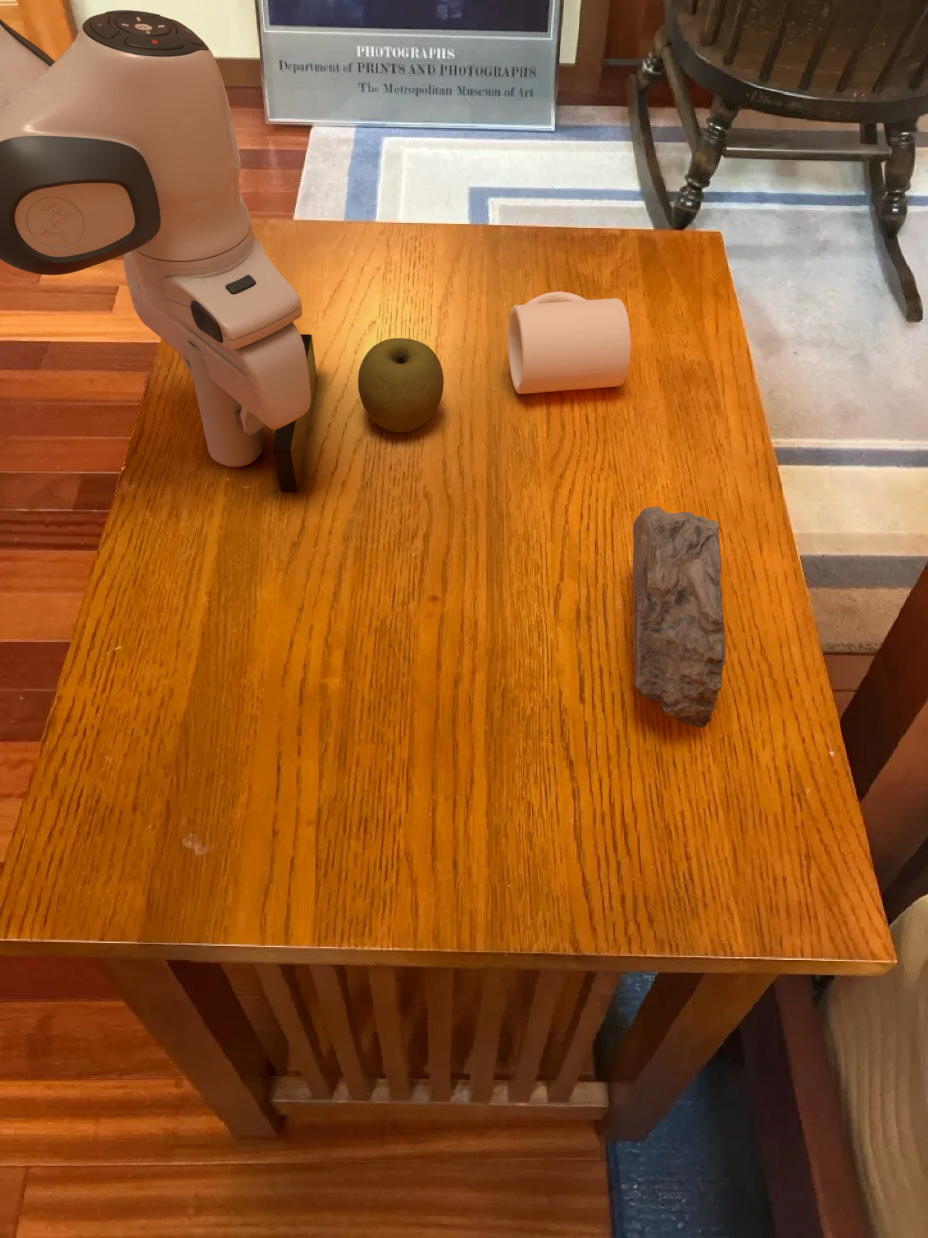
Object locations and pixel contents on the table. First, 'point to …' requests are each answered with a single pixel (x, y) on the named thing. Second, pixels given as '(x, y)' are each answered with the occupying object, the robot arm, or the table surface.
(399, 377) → the apple
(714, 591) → the decorative rock
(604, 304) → the mug
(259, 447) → the beverage can
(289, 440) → the bracket
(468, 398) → the table surface
